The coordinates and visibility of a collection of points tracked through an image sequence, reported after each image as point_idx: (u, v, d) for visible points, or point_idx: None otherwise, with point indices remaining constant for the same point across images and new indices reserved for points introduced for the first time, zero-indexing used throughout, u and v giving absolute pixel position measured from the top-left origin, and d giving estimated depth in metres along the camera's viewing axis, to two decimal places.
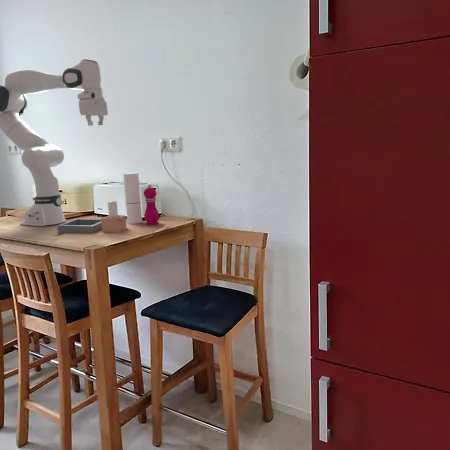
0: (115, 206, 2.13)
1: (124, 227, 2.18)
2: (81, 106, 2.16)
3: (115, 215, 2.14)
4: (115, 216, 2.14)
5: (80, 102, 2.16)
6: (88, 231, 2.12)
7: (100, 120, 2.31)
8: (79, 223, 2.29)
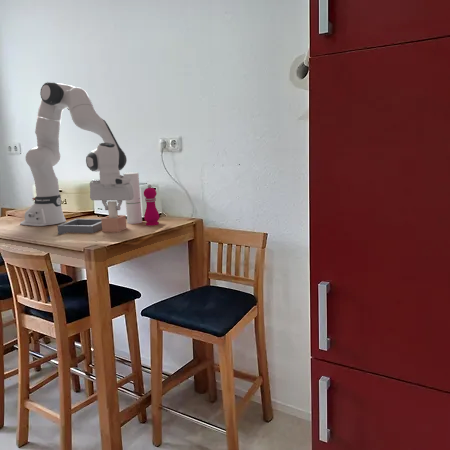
0: (115, 206, 2.13)
1: (124, 227, 2.18)
2: (130, 191, 2.10)
3: (115, 215, 2.14)
4: (115, 216, 2.14)
5: (128, 187, 2.09)
6: (88, 231, 2.12)
7: (106, 205, 2.15)
8: (79, 223, 2.29)
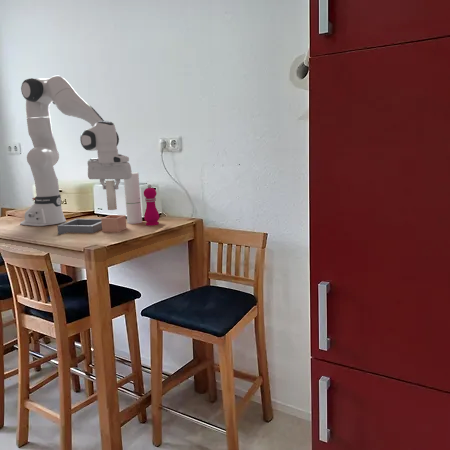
0: (113, 185, 2.11)
1: (124, 227, 2.18)
2: (128, 170, 2.08)
3: (113, 194, 2.12)
4: (113, 195, 2.12)
5: (126, 166, 2.07)
6: (88, 231, 2.12)
7: (104, 184, 2.13)
8: (79, 223, 2.29)
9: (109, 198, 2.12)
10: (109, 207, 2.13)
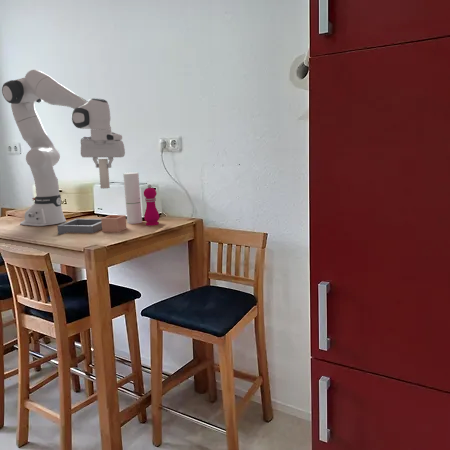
0: (106, 163, 2.11)
1: (124, 227, 2.18)
2: (121, 148, 2.07)
3: (106, 173, 2.11)
4: (106, 174, 2.11)
5: (120, 144, 2.06)
6: (88, 231, 2.12)
7: (96, 162, 2.12)
8: (79, 223, 2.29)
9: (102, 177, 2.11)
10: (102, 185, 2.12)
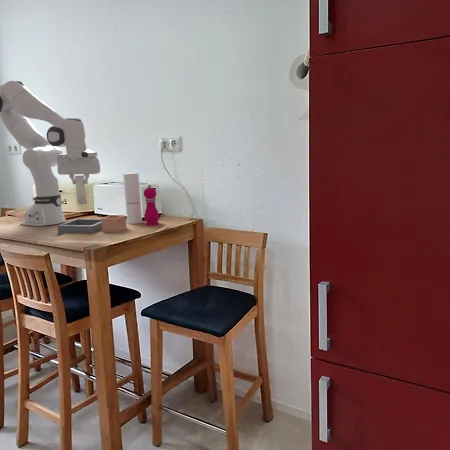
0: (82, 180, 2.16)
1: (124, 227, 2.18)
2: (96, 164, 2.12)
3: (82, 189, 2.17)
4: (82, 190, 2.17)
5: (94, 160, 2.12)
6: (88, 231, 2.12)
7: (73, 179, 2.18)
8: (79, 223, 2.29)
9: (79, 193, 2.16)
10: (79, 201, 2.17)
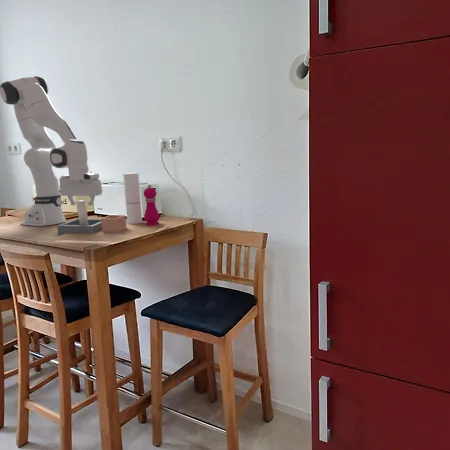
0: (84, 206, 2.17)
1: (124, 227, 2.18)
2: (98, 186, 2.15)
3: (84, 214, 2.18)
4: (84, 215, 2.18)
5: (96, 183, 2.14)
6: (88, 231, 2.12)
7: (72, 200, 2.20)
8: None
9: (81, 218, 2.18)
10: None
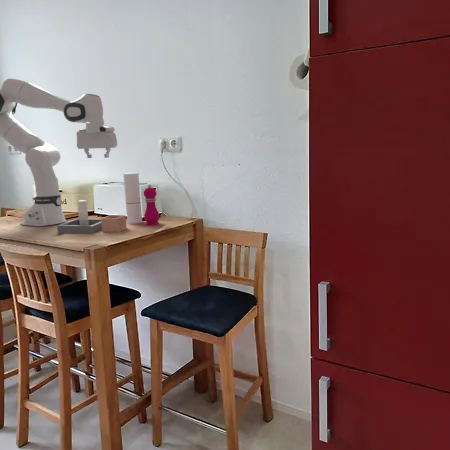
0: (85, 206, 2.18)
1: (124, 227, 2.18)
2: (113, 139, 2.24)
3: (85, 214, 2.19)
4: (85, 215, 2.19)
5: (112, 135, 2.23)
6: (88, 231, 2.12)
7: (88, 153, 2.30)
8: (79, 223, 2.29)
9: (81, 218, 2.19)
10: None
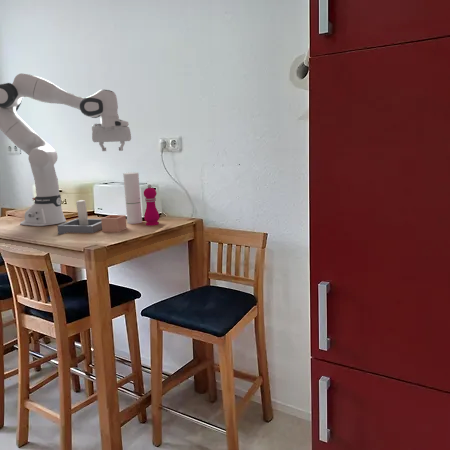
0: (84, 205, 2.18)
1: (124, 227, 2.18)
2: (128, 133, 2.35)
3: (84, 214, 2.19)
4: (84, 215, 2.19)
5: (126, 129, 2.35)
6: (88, 231, 2.12)
7: (103, 146, 2.41)
8: None
9: (81, 218, 2.19)
10: None
